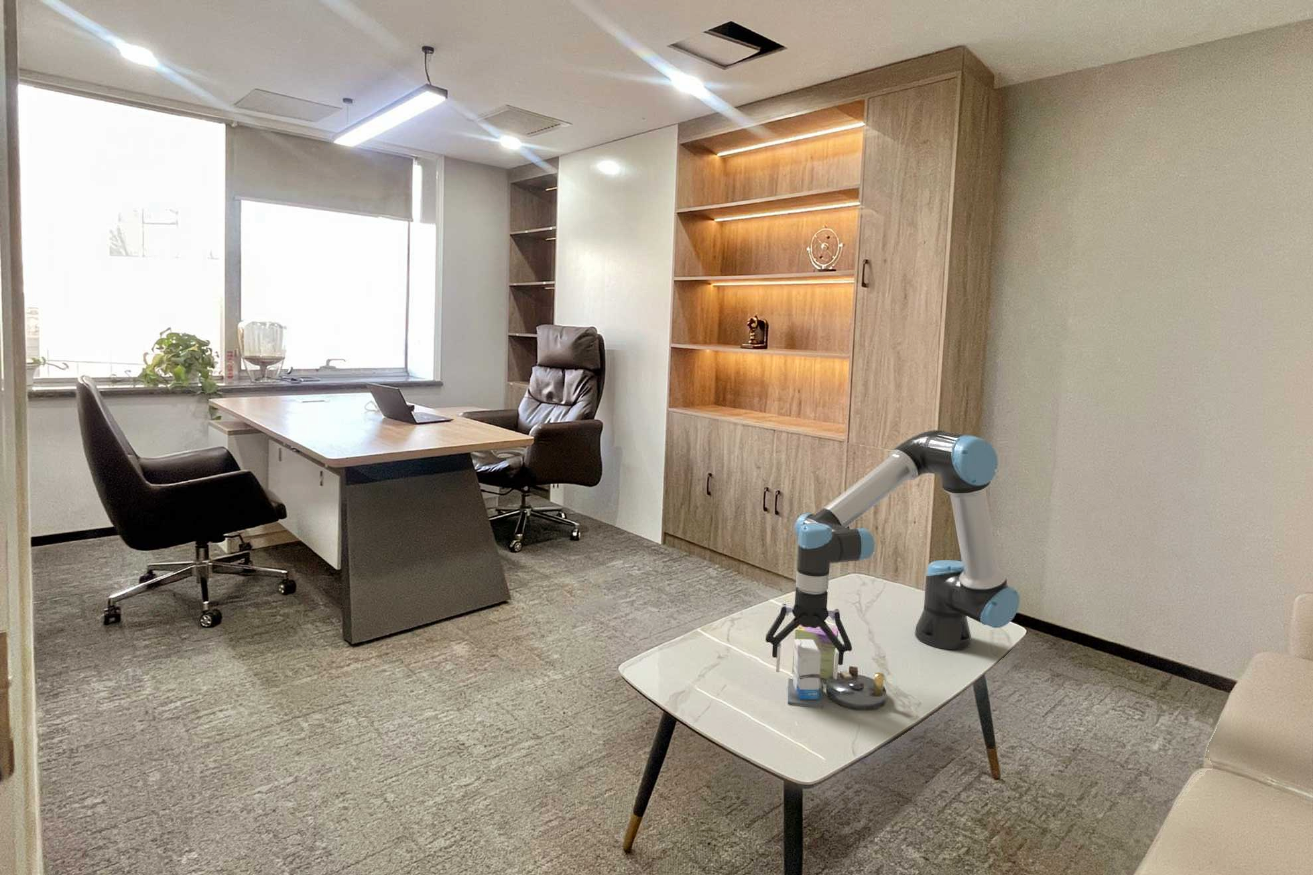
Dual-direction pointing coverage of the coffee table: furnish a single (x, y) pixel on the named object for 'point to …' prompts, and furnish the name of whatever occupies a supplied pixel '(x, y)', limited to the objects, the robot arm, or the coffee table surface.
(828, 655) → the box
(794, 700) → the mat
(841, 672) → the dark pot lid
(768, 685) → the coffee table surface
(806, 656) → the ink box
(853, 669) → the brown short block
